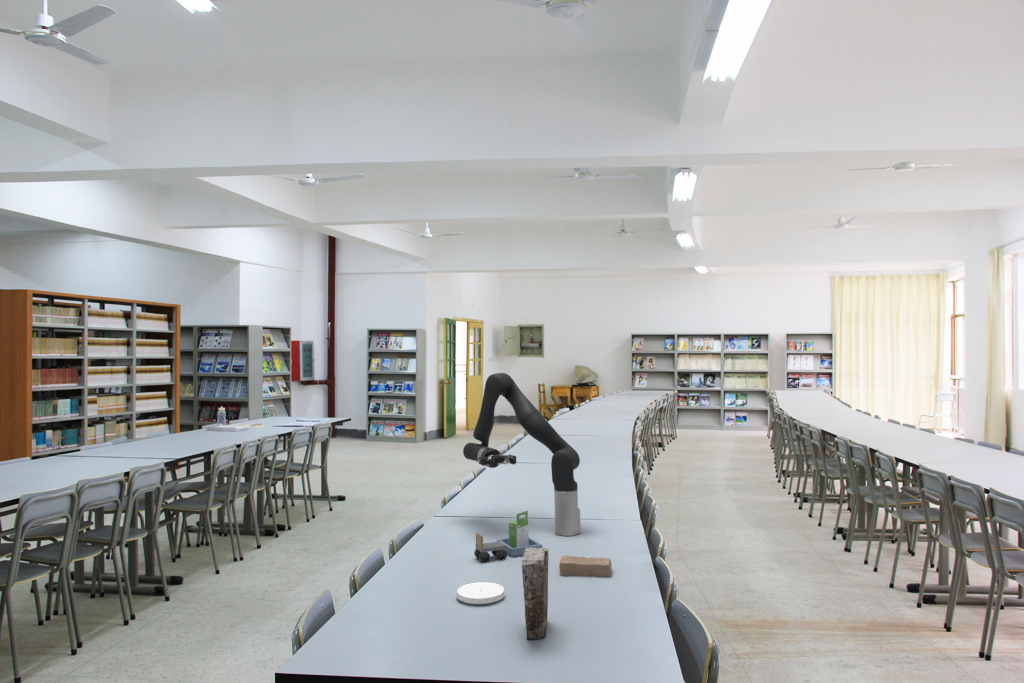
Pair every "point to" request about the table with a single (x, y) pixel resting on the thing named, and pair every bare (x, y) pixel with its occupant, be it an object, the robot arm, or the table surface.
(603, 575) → the brick
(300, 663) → the table surface
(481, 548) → the trolley
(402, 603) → the table surface
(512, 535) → the ink box
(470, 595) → the plastic lid
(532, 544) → the tray
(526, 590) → the stone block
